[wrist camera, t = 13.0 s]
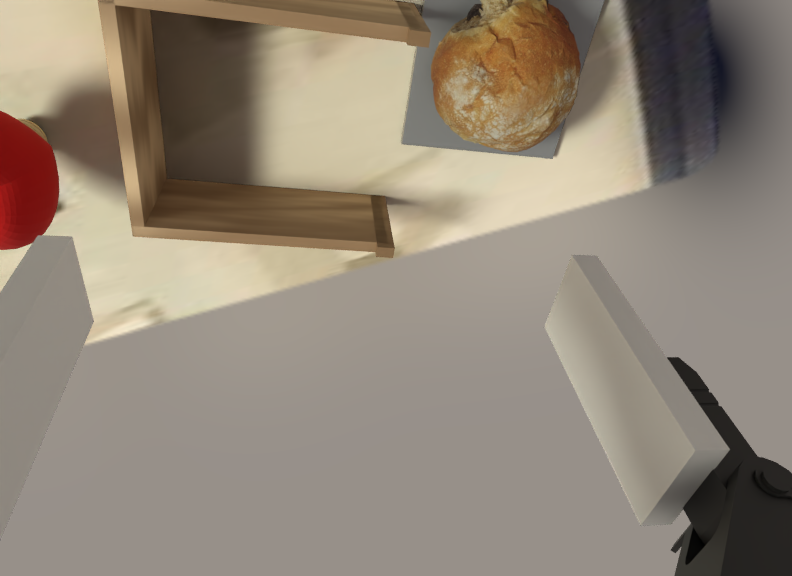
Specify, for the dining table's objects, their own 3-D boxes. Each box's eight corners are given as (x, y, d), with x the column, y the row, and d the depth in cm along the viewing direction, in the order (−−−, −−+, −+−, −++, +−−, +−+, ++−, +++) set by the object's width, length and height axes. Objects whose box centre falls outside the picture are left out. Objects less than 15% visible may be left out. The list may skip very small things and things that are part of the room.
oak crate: (131, -36, 35) (91, -13, 29) (413, 3, 38) (431, 32, 32) (156, 187, 43) (130, 241, 37) (383, 205, 46) (393, 257, 40)
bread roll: (413, 84, 44) (414, 166, 40) (456, -44, 35) (463, 46, 31) (532, 106, 46) (545, 186, 42) (602, -10, 37) (625, 79, 33)
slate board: (429, -39, 36) (430, -38, 36) (604, -12, 38) (607, -11, 38) (401, 141, 43) (401, 144, 43) (550, 156, 45) (552, 158, 45)
